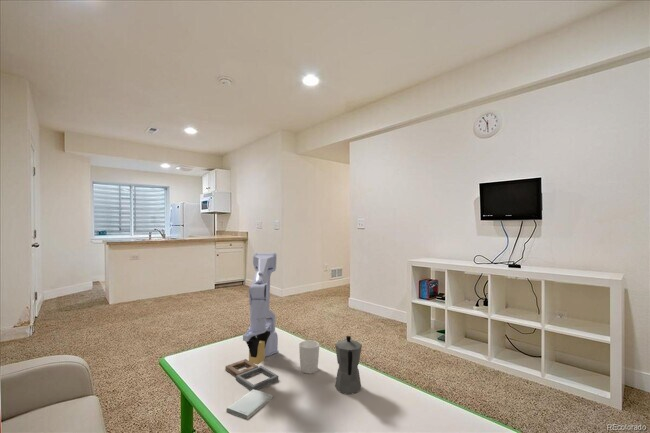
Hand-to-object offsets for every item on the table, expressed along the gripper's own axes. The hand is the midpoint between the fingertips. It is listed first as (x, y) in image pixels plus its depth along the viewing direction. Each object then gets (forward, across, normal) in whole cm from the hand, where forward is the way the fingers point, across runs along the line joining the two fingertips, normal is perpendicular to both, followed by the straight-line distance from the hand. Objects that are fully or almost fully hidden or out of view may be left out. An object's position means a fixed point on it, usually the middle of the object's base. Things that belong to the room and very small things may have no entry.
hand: (257, 354), depth 114 cm
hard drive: (+10, +13, +7) cm, 18 cm away
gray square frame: (+9, 0, 0) cm, 9 cm away
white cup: (+10, -15, +13) cm, 23 cm away
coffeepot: (+10, -9, +32) cm, 35 cm away
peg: (+3, 0, 0) cm, 3 cm away
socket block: (+9, -4, -10) cm, 14 cm away
